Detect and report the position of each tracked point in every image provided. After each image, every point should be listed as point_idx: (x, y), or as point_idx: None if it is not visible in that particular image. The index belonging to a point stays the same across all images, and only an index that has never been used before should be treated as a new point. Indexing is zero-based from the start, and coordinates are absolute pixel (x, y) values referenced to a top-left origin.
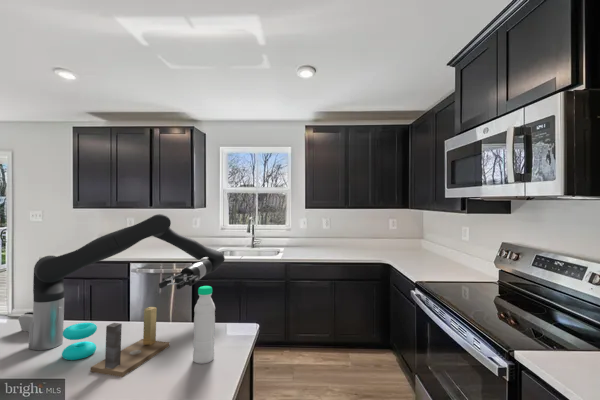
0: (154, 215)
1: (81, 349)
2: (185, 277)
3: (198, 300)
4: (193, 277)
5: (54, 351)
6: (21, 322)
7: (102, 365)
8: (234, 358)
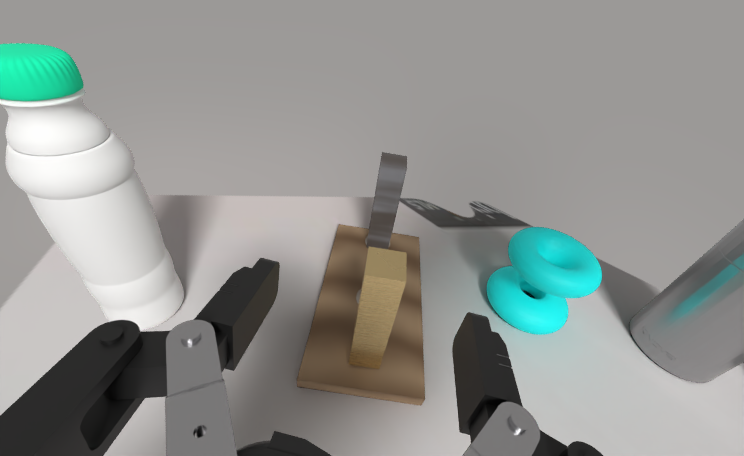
0: None
1: (503, 272)
2: (188, 392)
3: (96, 115)
4: (7, 447)
5: (600, 316)
6: None
7: (400, 242)
8: (27, 320)
